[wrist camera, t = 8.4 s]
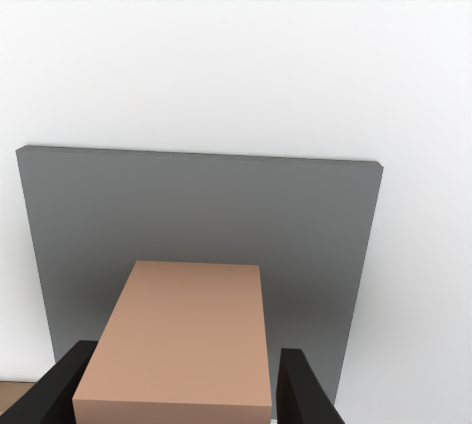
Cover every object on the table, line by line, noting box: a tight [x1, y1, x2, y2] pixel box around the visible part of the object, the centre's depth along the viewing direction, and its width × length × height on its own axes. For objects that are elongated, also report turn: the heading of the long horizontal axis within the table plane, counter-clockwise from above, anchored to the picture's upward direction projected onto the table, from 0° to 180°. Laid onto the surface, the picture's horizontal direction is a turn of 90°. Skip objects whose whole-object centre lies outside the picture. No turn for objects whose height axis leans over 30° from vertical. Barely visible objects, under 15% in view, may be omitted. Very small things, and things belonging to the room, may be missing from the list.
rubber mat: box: [16, 146, 384, 419], centre depth 15 cm, size 12×12×1 cm
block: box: [72, 261, 272, 424], centre depth 12 cm, size 4×4×6 cm
